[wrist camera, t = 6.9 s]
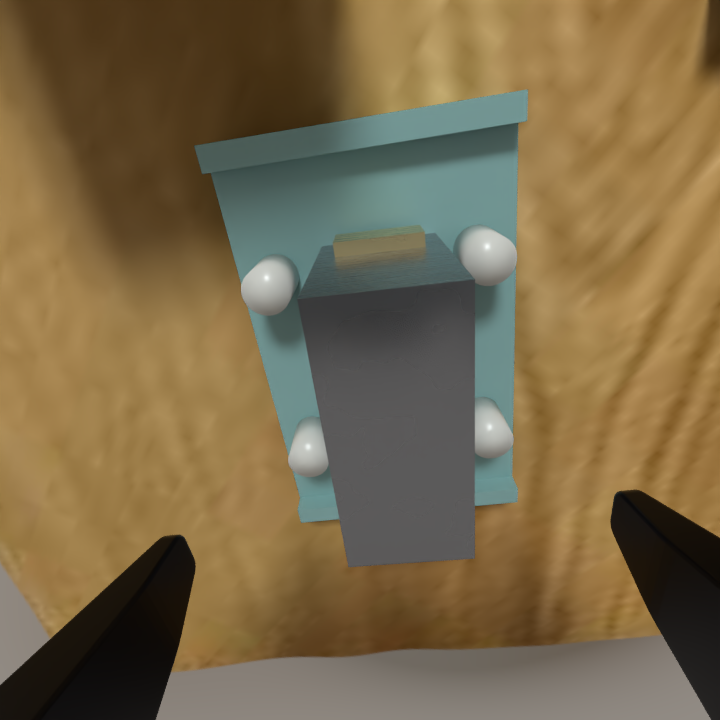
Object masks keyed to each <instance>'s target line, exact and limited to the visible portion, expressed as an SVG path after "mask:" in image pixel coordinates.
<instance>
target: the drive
mask: <svg viewBox="0 0 720 720" xmlns="http://www.w3.org/2000/svg"><path fill="white" fill-rule="evenodd" d="M297 301H298V306H299V312H300V317H301V322H302V327H303V333H304V338H305V343H306V348H307V353H308V359H309V364H310V369H311V374H312V379H313V385H314V390H315V395H316V400H317V405H318V411H319V416H320V421H321V426H322V431H323V437H324V442H325V447H326V452H327V457H328V463H329V468H330V473H331V478H332V483H333V489H334V494H335V499H336V504H337V509H338V515H339V520H340V525H341V530H342V535H343V541H344V546H345V551H346V556H347V561H348V567H357V566H371V565H386V564H401V563H415V562H430V561H444V560H459V559H473V558H475V279H474V278H473V276H472V275H471V274H470V273H469V272H468V270H467V269H466V268H465V267H464V266H463V265H462V263H461V262H460V261H459V260H458V259H457V258H456V256H455V255H454V254H453V253H452V252H451V251H450V249H449V248H448V247H447V246H446V245H445V244H444V242H443V241H442V240H441V239H440V238H439V236H438V235H437V234H436V233H429V234H425V231H424V230H423V229H422V227H421V226H420V225H412V226H404V227H396V228H387V229H379V230H371V231H362V232H354V233H346V234H338V235H335V238H334V241H333V245H328V246H322V247H321V250H320V252H319V254H318V256H317V258H316V260H315V262H314V264H313V267H312V269H311V271H310V273H309V275H308V277H307V279H306V281H305V283H304V286H303V288H302V290H301V292H300V294H299V296H298V298H297Z"/></svg>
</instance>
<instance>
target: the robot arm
mask: <svg viewBox="0 0 720 720" xmlns="http://www.w3.org/2000/svg"><path fill="white" fill-rule="evenodd" d="M610 522H611V529H612V532H613V534H614V537H615V539H616V541H617V543H618V545H619V548H620V550H621V552H622V554H623V556H624V559H625V561H626V563H627V565H628V567H629V570H630V572H631V574H632V576H633V578H634V581H635V583H636V585H637V587H638V589H639V592H640V594H641V596H642V598H643V600H644V602H645V604H646V606H647V608H648V610H649V612H650V614H651V616H652V618H653V620H654V621H655V623H656V625H657V627H658V628H659V630H660V632H661V634H662V635H663V637H664V639H665V641H666V642H667V644H668V646H669V647H670V649H671V651H672V653H673V654H674V656H675V657H676V660H677V661H678V663H679V665H680V666H681V668H682V670H683V672H684V673H685V675H686V677H687V679H688V680H689V682H690V684H691V685H692V687H693V689H694V690H695V692H696V694H697V696H698V698H699V699H700V701H701V703H702V705H703V706H704V708H705V710H706V711H707V713H708V715H709V717H710V718H711V720H720V538H719V537H718V536H716V535H714V534H713V533H711V532H709V531H708V530H706V529H704V528H703V527H701V526H699V525H698V524H696V523H694V522H693V521H691V520H689V519H687V518H686V517H684V516H682V515H681V514H679V513H677V512H676V511H674V510H672V509H671V508H669V507H667V506H666V505H664V504H662V503H661V502H659V501H657V500H656V499H654V498H652V497H651V496H649V495H647V494H646V493H644V492H642V491H640V490H626V491H619V492H617V493H616V494H615V496H614V501H613V507H612V514H611V521H610ZM195 567H196V566H195V559H194V557H193V555H192V553H191V550H190V548H189V546H188V544H187V542H186V540H185V538H184V537H183V536H182V535H169V536H164V537H162V538H160V539H159V540H158V541H157V542H155V543H154V544H153V545H152V546H151V547H150V548H149V549H148V550H147V551H146V552H145V553H144V554H142V555H141V556H140V557H139V558H138V559H137V560H136V561H135V562H134V563H133V564H132V565H130V566H129V567H128V568H127V569H126V570H125V571H124V572H123V573H122V574H121V575H120V576H118V577H117V578H116V579H115V580H114V581H113V582H112V583H111V584H110V585H109V586H108V587H107V588H105V589H104V590H103V591H102V592H101V593H100V594H99V595H98V596H97V597H96V598H95V599H93V600H92V601H91V602H90V603H89V604H88V605H87V606H86V607H85V608H84V609H83V610H81V611H80V612H79V613H78V614H77V615H76V616H75V617H74V618H73V619H72V620H71V621H70V622H68V623H67V624H66V625H65V626H64V627H63V628H62V629H61V630H60V631H59V632H58V633H56V634H55V635H54V636H53V637H52V638H51V639H50V640H49V641H48V642H47V643H46V644H44V645H43V646H42V647H41V648H40V649H39V650H38V651H37V652H36V653H35V654H34V655H33V656H31V657H30V658H29V659H28V660H27V661H26V662H25V663H24V664H23V665H22V666H21V667H20V668H19V669H17V670H16V671H15V672H14V673H13V674H12V675H11V676H10V677H9V678H7V679H6V680H5V681H4V682H3V683H2V684H1V685H0V720H156V717H157V714H158V711H159V707H160V704H161V701H162V698H163V695H164V692H165V689H166V685H167V682H168V679H169V676H170V673H171V670H172V667H173V663H174V660H175V657H176V654H177V650H178V647H179V643H180V638H181V634H182V630H183V625H184V621H185V616H186V611H187V607H188V602H189V598H190V593H191V588H192V584H193V579H194V575H195Z"/></svg>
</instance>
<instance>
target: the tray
mask: <svg viewBox="0 0 720 720" xmlns="http://www.w3.org/2000/svg"><path fill="white" fill-rule="evenodd" d="M527 105H528V90H522V91H516V92H510V93H504V94H498V95H492V96H486V97H480V98H474V99H468V100H462V101H457V102H451V103H445V104H439V105H433V106H427V107H421V108H415V109H409V110H403V111H397V112H391V113H385V114H379V115H373V116H367V117H362V118H356V119H350V120H344V121H338V122H332V123H326V124H320V125H314V126H308V127H302V128H296V129H290V130H284V131H278V132H272V133H267V134H261V135H255V136H249V137H243V138H237V139H231V140H225V141H219V142H213V143H207V144H201V145H195V146H194V147H195V151H196V154H197V158H198V161H199V165H200V168H201V172H202V174H206V173H211V176H212V180H213V183H214V187H215V191H216V194H217V198H218V201H219V205H220V209H221V212H222V216H223V220H224V223H225V227H226V230H227V234H228V238H229V241H230V245H231V249H232V252H233V256H234V259H235V263H236V267H237V270H238V274H239V278H240V281H241V294H242V297H243V300H244V302H245V303H246V305H247V307H248V310H249V314H250V317H251V321H252V325H253V328H254V332H255V336H256V339H257V343H258V346H259V350H260V354H261V357H262V361H263V365H264V368H265V372H266V375H267V379H268V383H269V386H270V390H271V394H272V397H273V401H274V404H275V408H276V412H277V415H278V419H279V423H280V426H281V430H282V433H283V437H284V441H285V444H286V448H287V452H288V455H289V458H288V463H289V466H290V468H291V469H292V470H293V473H294V477H295V481H296V484H297V488H298V491H299V495H300V501H299V506H298V513H299V516H300V520H301V523H303V522H314V521H324V520H334V519H339V515H338V509H337V504H336V499H335V494H334V489H333V483H332V478H331V473H330V468H329V463H328V457H327V452H326V447H325V442H324V437H323V431H322V426H321V421H320V416H319V411H318V405H317V400H316V395H315V390H314V385H313V379H312V374H311V369H310V364H309V359H308V353H307V348H306V343H305V338H304V333H303V327H302V322H301V317H300V312H299V306H298V301H297V298H298V296H299V294H300V292H301V290H302V288H303V286H304V283H305V281H306V279H307V277H308V275H309V273H310V271H311V269H312V267H313V264H314V262H315V260H316V258H317V256H318V254H319V252H320V250H321V247H322V246H328V245H333V241H334V238H335V235H338V234H346V233H354V232H362V231H371V230H379V229H387V228H396V227H404V226H412V225H420V226H421V227H422V229H423V230H424V231H425V234H429V233H436V234H437V235H438V236H439V238H440V239H441V240H442V241H443V242H444V244H445V245H446V246H447V247H448V248H449V249H450V251H451V252H452V253H453V254H454V255H455V256H456V258H457V259H458V260H459V261H460V262H461V263H462V265H463V266H464V267H465V268H466V269H467V270H468V272H469V273H470V274H471V275H472V276H473V278H474V279H475V506H481V505H491V504H502V503H512V502H517V495H518V488H517V486H516V484H515V482H514V479H513V477H512V453H513V441H514V437H513V396H514V340H515V283H516V262H517V252H516V227H517V170H518V123H520V122H525V121H527Z"/></svg>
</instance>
